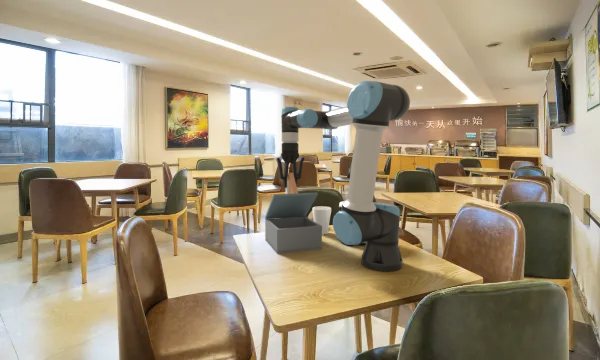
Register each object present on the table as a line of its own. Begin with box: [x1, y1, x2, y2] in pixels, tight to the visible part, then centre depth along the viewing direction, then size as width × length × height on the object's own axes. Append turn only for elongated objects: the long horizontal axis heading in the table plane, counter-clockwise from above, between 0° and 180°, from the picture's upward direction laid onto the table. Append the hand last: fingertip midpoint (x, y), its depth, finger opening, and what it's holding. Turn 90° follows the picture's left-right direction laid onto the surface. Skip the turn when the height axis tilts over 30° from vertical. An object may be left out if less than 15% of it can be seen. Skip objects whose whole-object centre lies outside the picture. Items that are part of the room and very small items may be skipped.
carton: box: [264, 215, 323, 254], centre depth 145 cm, size 20×20×10 cm
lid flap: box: [264, 172, 319, 219], centre depth 149 cm, size 20×20×12 cm
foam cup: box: [311, 205, 332, 236], centre depth 163 cm, size 10×9×13 cm
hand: (290, 194), depth 146 cm, fingers closed on lid flap, 2 cm apart
